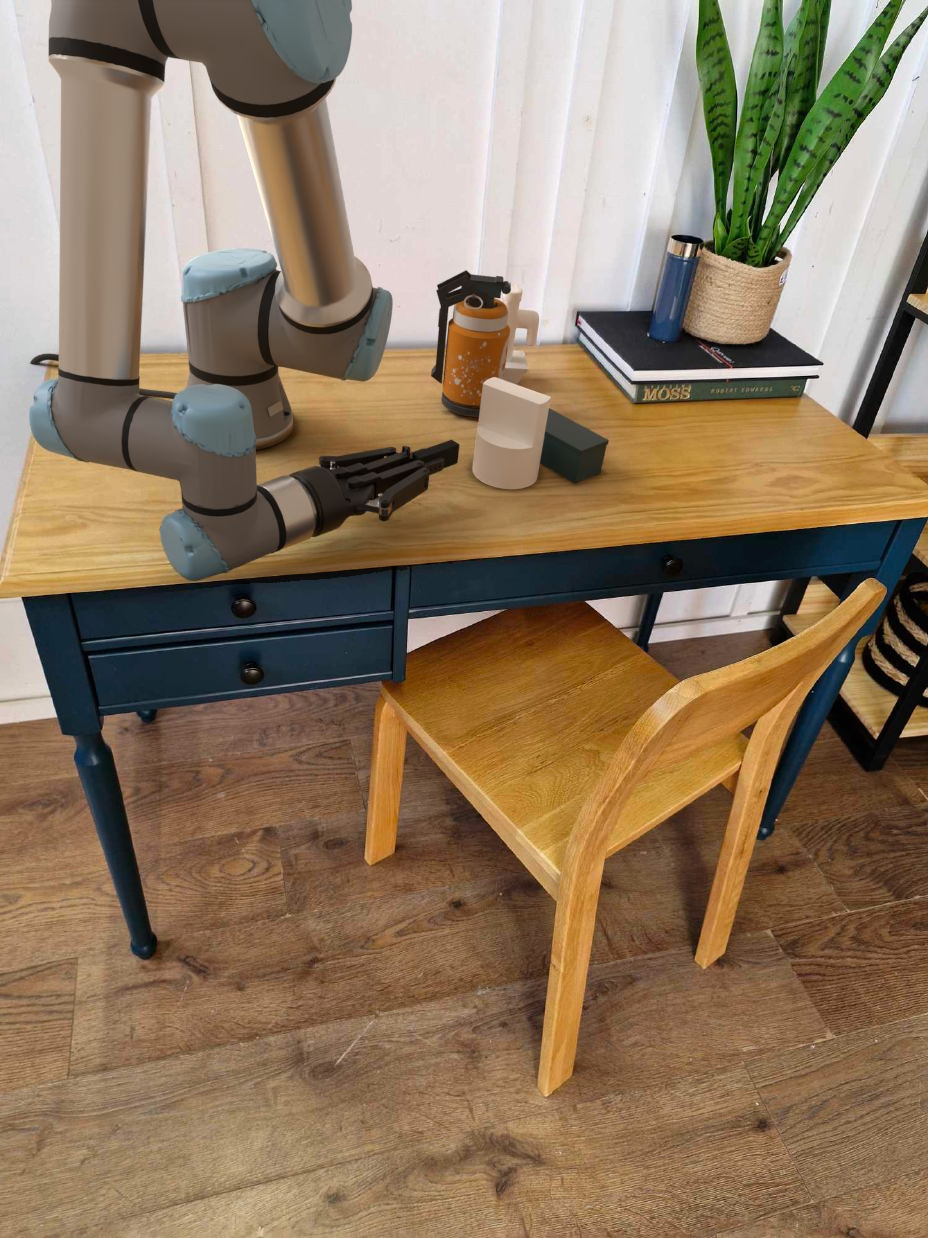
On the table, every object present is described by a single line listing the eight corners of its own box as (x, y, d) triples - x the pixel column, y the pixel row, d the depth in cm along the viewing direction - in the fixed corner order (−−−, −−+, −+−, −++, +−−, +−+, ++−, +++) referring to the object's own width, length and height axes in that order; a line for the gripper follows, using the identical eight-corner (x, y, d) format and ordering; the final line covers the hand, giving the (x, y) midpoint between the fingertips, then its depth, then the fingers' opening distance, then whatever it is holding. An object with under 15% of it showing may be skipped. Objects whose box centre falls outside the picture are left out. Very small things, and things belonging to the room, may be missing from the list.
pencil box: (497, 438, 133) (501, 406, 130) (524, 429, 137) (529, 397, 134) (574, 484, 125) (581, 450, 122) (602, 472, 129) (609, 440, 125)
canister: (499, 423, 137) (517, 288, 125) (425, 415, 137) (436, 280, 125) (499, 397, 144) (516, 267, 132) (429, 390, 144) (439, 259, 132)
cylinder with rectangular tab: (549, 471, 127) (563, 390, 120) (517, 496, 121) (530, 412, 114) (493, 449, 131) (504, 369, 123) (459, 473, 125) (468, 390, 117)
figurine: (532, 391, 147) (547, 298, 138) (473, 387, 146) (484, 293, 137) (527, 372, 153) (541, 281, 144) (470, 368, 152) (481, 276, 143)
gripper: (267, 509, 109) (419, 456, 122) (334, 562, 102) (486, 499, 115) (265, 452, 104) (423, 404, 118) (335, 503, 97) (494, 445, 111)
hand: (454, 451), depth 117 cm, fingers closed
